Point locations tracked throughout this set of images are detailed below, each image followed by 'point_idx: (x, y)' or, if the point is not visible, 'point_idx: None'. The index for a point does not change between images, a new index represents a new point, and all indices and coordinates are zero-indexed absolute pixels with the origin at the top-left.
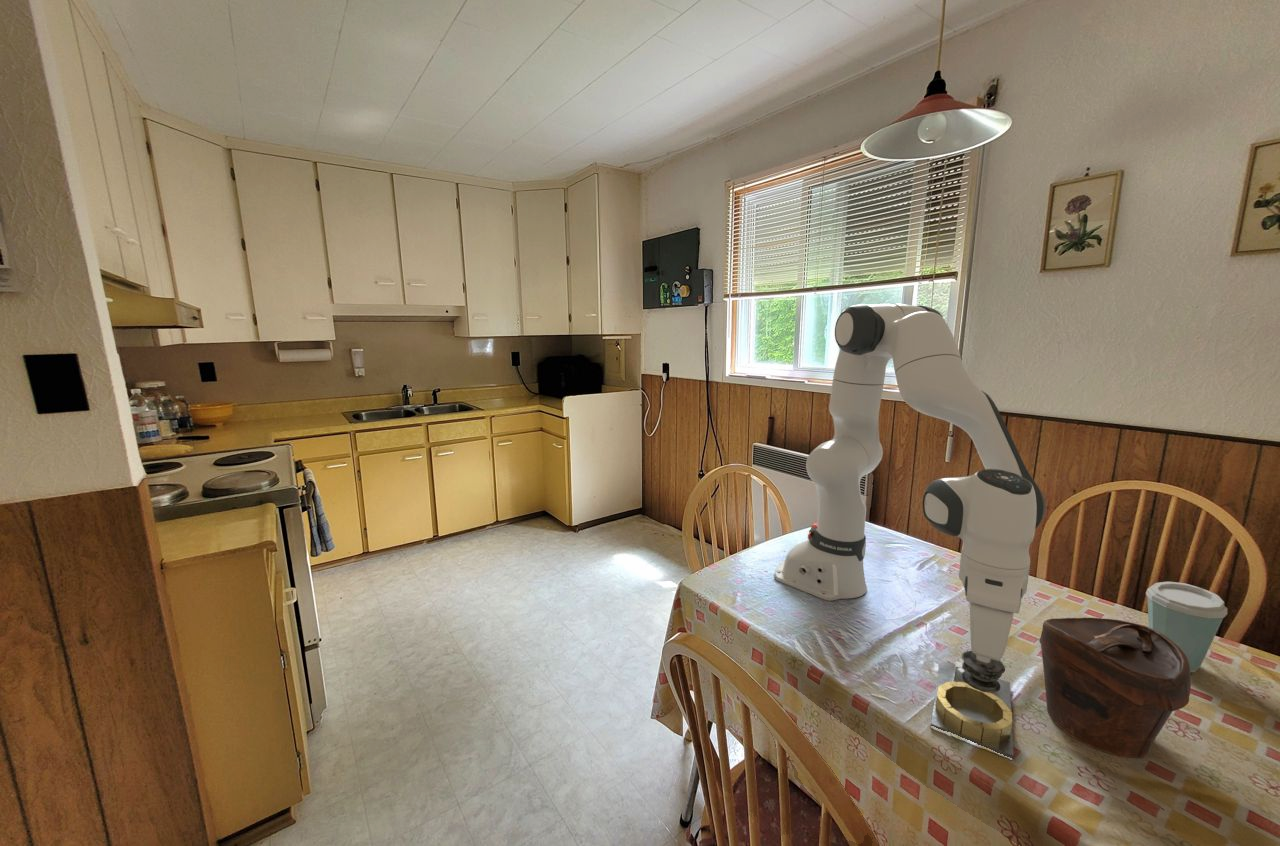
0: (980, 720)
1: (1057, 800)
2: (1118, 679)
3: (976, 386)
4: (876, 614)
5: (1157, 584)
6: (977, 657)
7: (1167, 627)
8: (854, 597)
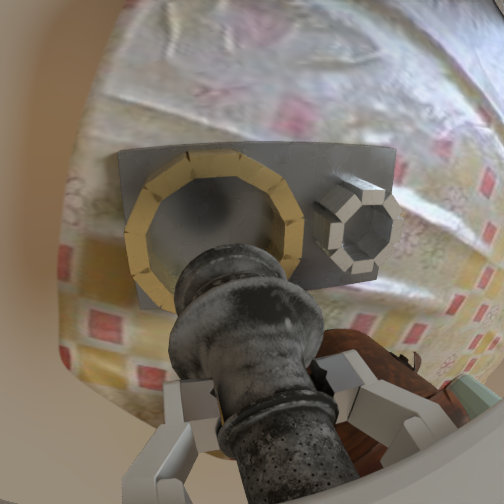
0: (211, 247)
1: (103, 353)
2: None
3: None
4: (477, 32)
5: None
6: (164, 390)
7: (475, 415)
8: (496, 2)
